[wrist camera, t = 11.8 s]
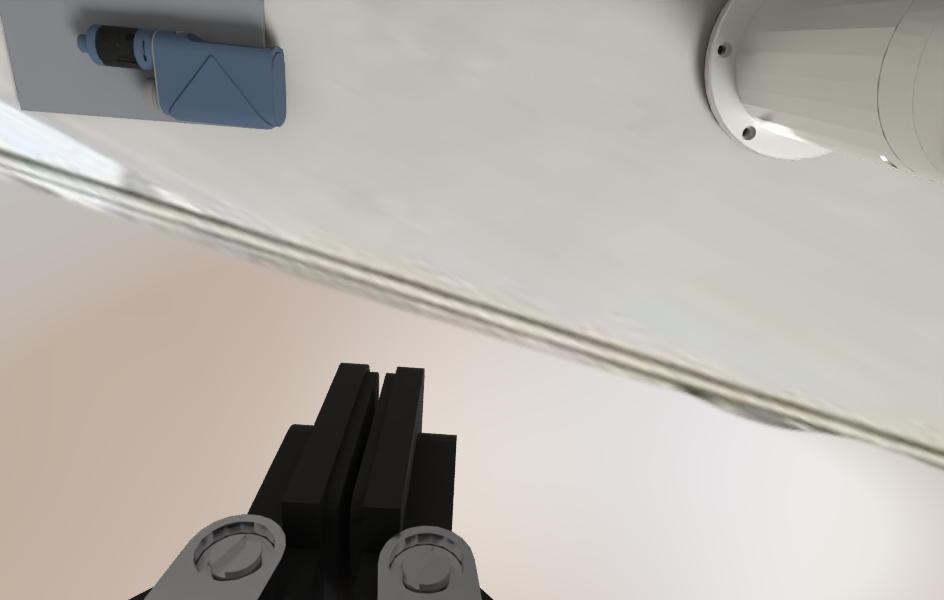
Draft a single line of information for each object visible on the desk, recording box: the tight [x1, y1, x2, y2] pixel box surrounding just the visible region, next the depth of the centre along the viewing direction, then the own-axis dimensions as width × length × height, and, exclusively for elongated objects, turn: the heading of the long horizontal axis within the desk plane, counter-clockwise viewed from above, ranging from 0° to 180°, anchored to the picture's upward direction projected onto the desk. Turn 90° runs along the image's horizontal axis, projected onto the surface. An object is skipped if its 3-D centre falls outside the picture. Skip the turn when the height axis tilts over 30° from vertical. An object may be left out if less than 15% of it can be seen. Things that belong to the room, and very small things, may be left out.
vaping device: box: [77, 24, 286, 129], centre depth 37 cm, size 3×5×12 cm
